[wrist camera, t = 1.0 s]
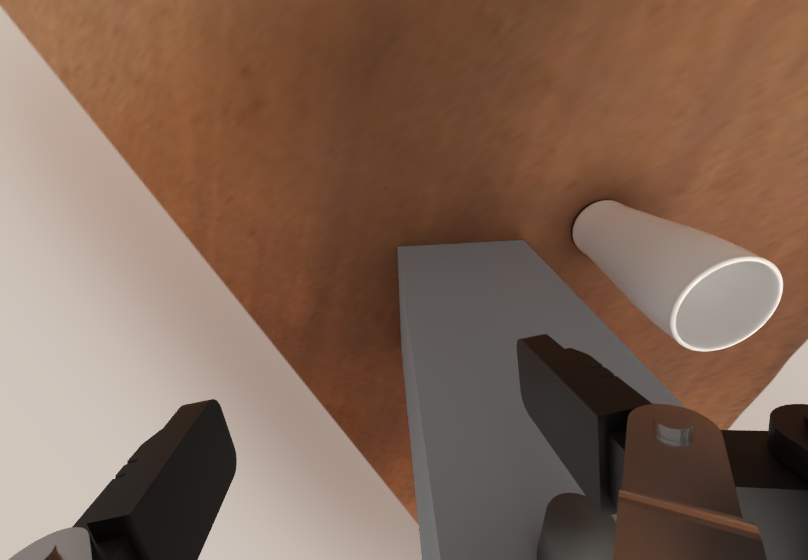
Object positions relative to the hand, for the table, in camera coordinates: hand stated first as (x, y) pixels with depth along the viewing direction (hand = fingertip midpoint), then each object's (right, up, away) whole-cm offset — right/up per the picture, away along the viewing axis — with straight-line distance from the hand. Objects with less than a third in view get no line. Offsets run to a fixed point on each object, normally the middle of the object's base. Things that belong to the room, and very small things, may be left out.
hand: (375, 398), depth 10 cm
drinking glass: (+19, +8, +26) cm, 33 cm away
